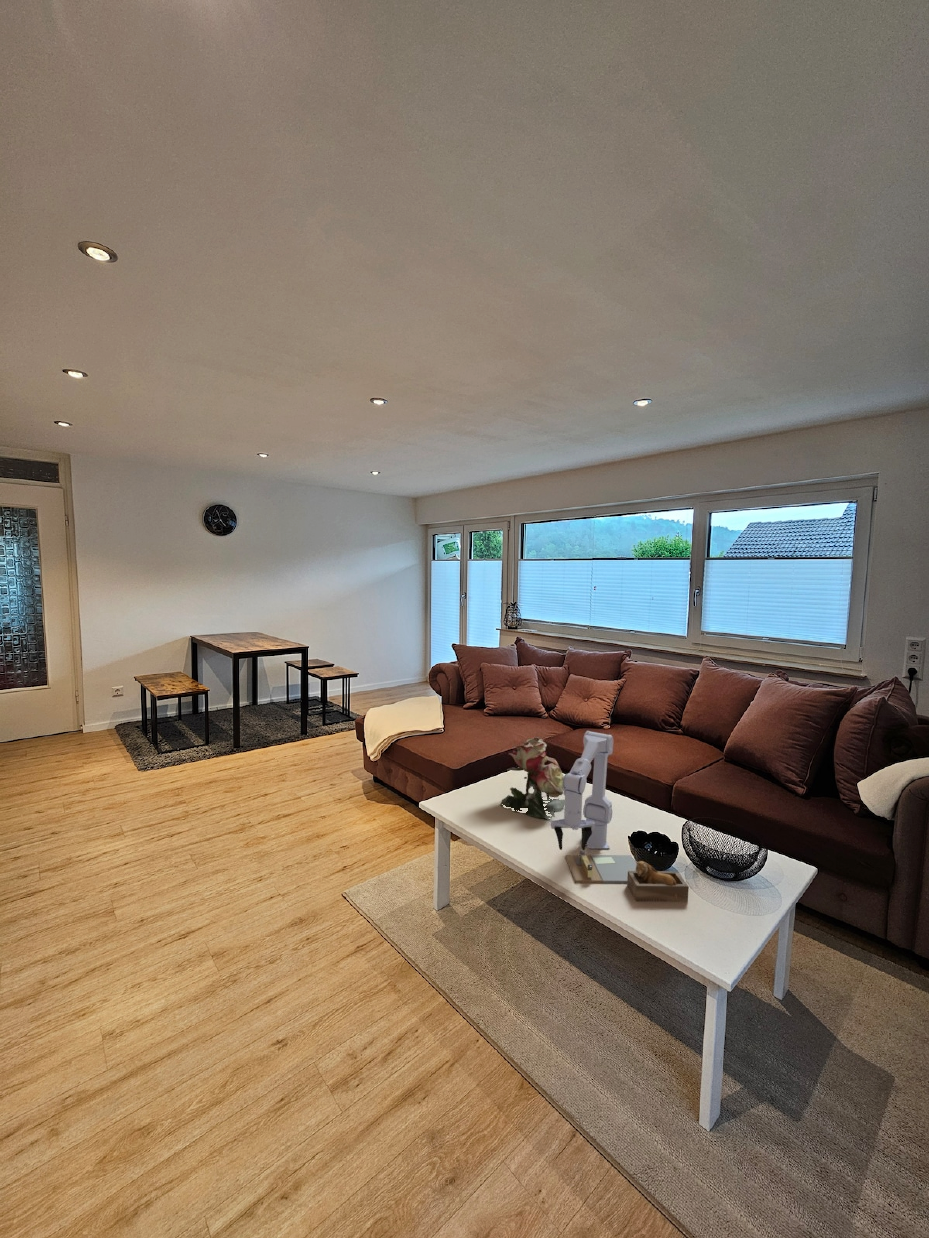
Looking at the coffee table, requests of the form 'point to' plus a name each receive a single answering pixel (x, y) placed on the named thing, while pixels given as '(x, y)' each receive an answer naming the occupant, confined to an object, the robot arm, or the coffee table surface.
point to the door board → (602, 868)
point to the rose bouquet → (536, 780)
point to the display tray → (657, 888)
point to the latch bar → (587, 866)
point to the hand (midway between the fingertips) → (571, 848)
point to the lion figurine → (653, 875)
